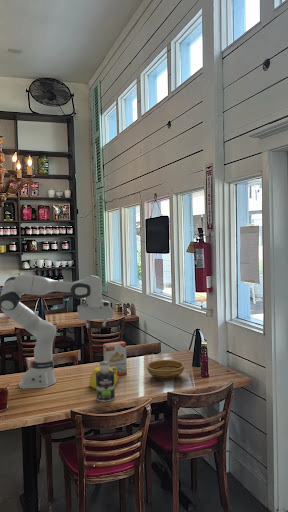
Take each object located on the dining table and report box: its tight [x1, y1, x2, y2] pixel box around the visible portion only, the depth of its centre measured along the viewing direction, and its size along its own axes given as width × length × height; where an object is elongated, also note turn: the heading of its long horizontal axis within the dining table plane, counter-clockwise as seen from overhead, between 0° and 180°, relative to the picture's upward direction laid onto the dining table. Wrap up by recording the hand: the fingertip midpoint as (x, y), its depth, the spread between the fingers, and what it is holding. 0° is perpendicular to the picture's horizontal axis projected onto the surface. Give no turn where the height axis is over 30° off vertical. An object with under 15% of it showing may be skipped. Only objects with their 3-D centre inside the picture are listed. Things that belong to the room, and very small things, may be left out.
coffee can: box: [95, 371, 116, 403], centre depth 240 cm, size 10×10×14 cm
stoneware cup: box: [99, 360, 109, 375], centre depth 240 cm, size 5×5×6 cm
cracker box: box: [102, 341, 128, 377], centre depth 281 cm, size 14×6×21 cm, turn 115°
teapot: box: [88, 366, 120, 390], centre depth 260 cm, size 20×19×13 cm
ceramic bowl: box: [145, 359, 186, 381], centre depth 273 cm, size 30×24×8 cm
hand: (95, 326), depth 253 cm, fingers open, 8 cm apart
